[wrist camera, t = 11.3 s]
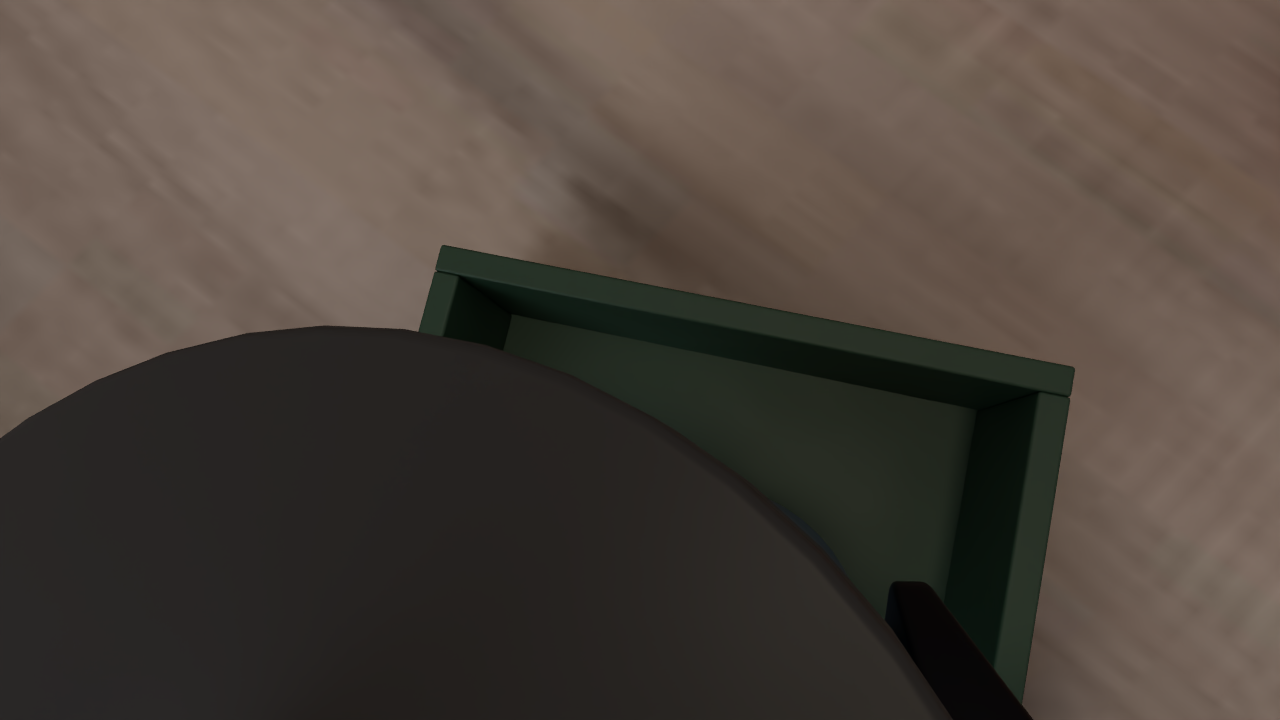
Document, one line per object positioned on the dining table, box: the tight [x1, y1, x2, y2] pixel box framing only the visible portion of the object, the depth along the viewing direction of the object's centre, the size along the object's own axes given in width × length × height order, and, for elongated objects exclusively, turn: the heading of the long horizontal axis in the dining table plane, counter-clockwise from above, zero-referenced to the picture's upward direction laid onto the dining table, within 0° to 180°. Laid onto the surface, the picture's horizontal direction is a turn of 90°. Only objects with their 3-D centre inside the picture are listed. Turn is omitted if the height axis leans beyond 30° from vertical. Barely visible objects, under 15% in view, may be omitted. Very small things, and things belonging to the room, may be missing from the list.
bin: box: [419, 245, 1075, 704], centre depth 17 cm, size 13×13×4 cm
